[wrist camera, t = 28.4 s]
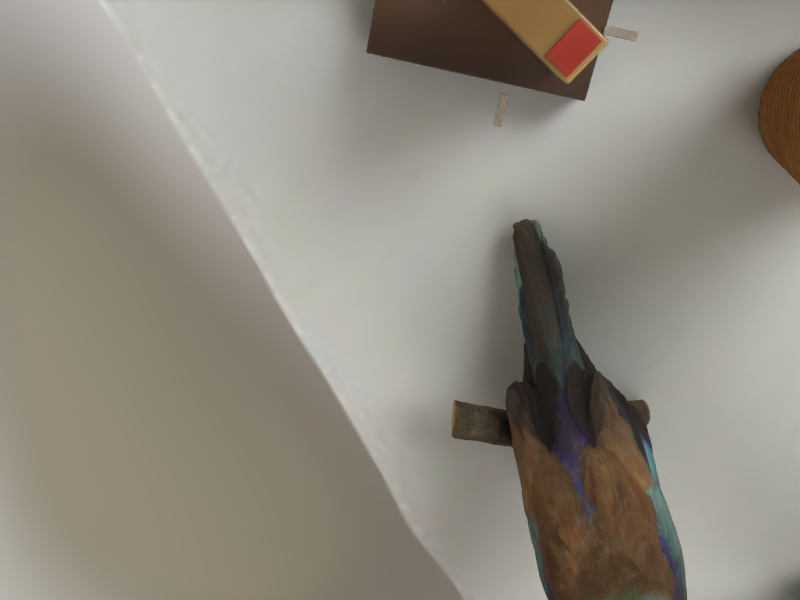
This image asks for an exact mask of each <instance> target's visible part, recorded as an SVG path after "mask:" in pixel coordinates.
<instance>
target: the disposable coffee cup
mask: <svg viewBox="0 0 800 600" xmlns="http://www.w3.org/2000/svg"><path fill="white" fill-rule="evenodd" d="M759 129H760V132H761V135H762V139H763V142H764V144H765V146H766V148H767V150H768V152H769V153H770V154H771V155H772V156H773V157H774V159H775V160H776V161H777V162H778V163H780V164H781V166H782V167H783V168H784V169H785V170H786V171H787V172H788V173H789V174H790V175H791V176H792V177H793V178H794V179H795V180H796V181H797V182H798V183H799V184H800V49H798V50H797V51H795V52H794V53H793V54H792V55H791V56H790V57H788V58H787V59H786V60H785V61H784V62H783V63H782V64H781V65H780V66H779V67H778V68H777V70H776V71H775V72H774V73H773V75H772V76H771V78H770V80H769V82H768V83H767V85H766V87H765V90H764V93H763V95H762V98H761V102H760V108H759Z"/></svg>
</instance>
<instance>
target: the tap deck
mask: <svg viewBox="0 0 800 600" xmlns="http://www.w3.org/2000/svg"><path fill="white" fill-rule="evenodd" d="M569 1H570V2H571V3H572V4H573V5H574V6H575V7H576V8H577V9H578V10H579V11H580V12H581V13H582V14H583V15H584V16H585V17H586V18H587V19H588V20H589V21H590V22H591V23H592V24H593V25H594V26H595V27H596V28H597V29H598V30H599V31H600V32H601V33H602V34H603V35H608V36H613V37H617V38H622V39H627V40H631V41H636V38H637V34H638V32H634V31H629V30H624V29H620V28H615V27H610V26H606V24H607V21H608V17H609V14H610V10H611V6H612V3H613V0H569ZM366 52H367V53H370V54H374V55H379V56H384V57H388V58H393V59H397V60H402V61H406V62H411V63H415V64H420V65H424V66H429V67H433V68H438V69H442V70H447V71H451V72H456V73H460V74H465V75H469V76H474V77H478V78H483V79H488V80H492V81H497V82H501V83H506V84H510V85H515V86H519V87H524V88H528V89H533V90H537V91H542V92H546V93H551V94H555V95H560V96H564V97H569V98H573V99H578V100H582V101H585V98H586V95H587V91H588V88H589V84H590V81H591V77H592V74H593V70H594V67H595V63H596V60H597V56H598V54H597V55H596V56H595V57H594V58H593V59H592V61H591V62H590V63H589V64H588V65H587V66H586V67H585V68H584V69H583V70H582V71H581V72H580V73H579V74H578V75H577V76H576V77H575V78H574V79H573V80H572V81H571V82H570V83H568V84H567V83H565V82H564V81H563V80H561V79H560V78H559V77H558V76H556V75H555V74H554V73H553V72H552V71H551V70H550V69H549V68H548V67H547V66H546V65H545V64H544V63H543V62H542V61H541V60H540V59H539V58H538V57H537V56H536V55H535V54H534V53H533V52H532V51H531V50H530V49H529V48H528V47H527V46H526V45H525V44H524V43H523V42H522V41H521V40H520V39H519V38H518V37H517V36H516V35H515V34H514V33H513V32H512V31H511V30H510V29H509V28H508V27H507V26H506V25H505V24H504V23H503V22H502V21H501V20H500V19H499V18H498V17H497V16H496V15H495V14H494V13H493V12H492V11H491V10H490V9H489V8H488V7H487V6H486V5H485V4H484V3H483V2H482V1H481V0H375V5H374V11H373V17H372V22H371V28H370V34H369V39H368V45H367V51H366ZM507 100H508V95H506V94H500V98H499V102H498V107H497V111H496V115H495V119H494V123H493V125H496V126H500V127H501V124H502V120H503V116H504V112H505V108H506V104H507Z"/></svg>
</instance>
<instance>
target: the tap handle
mask: <svg viewBox="0 0 800 600" xmlns="http://www.w3.org/2000/svg"><path fill="white" fill-rule="evenodd" d="M481 1H482V2H483V3H484V4H485V5H486V6H487V7H488V8H489V9H490V10H491V11H492V12H493V13H494V14H495V15H496V16H497V17H498V18H499V19H500V20H501V21H502V22H503V23H504V24H505V25H506V26H507V27H508V28H509V29H510V30H511V31H512V32H513V33H514V34H515V35H516V36H517V37H518V38H519V39H520V40H521V41H522V42H523V43H524V44H525V45H526V46H527V47H528V48H529V49H530V50H531V51H532V52H533V53H534V54H535V55H536V56H537V57H538V58H539V59H540V60H541V61H542V62H543V63H544V64H545V65H546V66H547V67H548V68H549V69H550V70H551V71H552V72H553V73H554V74H555V75H556V76H558V77H559V78H560V79H561V80H563V81H564V82H565V83H567V84H568V83H570V82H571V81H572V80H573V79H574V78H575V77H576V76H577V75H578V74H579V73H580V72H581V71H582V70H583V69H584V68H585V67H586V66H587V65H588V64H589V63H590V62H591V61H592V59H593V58H594V57H595V56H596V55H597V54H598V53H599V52H600V51H601V50H602V49H603V48H604V47H605V46H606V45H607V44H608V40H607V39H606V38H605V37H604V35H603V34H602V33H601V32H600V31H599V30H598V29H597V28H596V27H595V26H594V25H593V24H592V23H591V22H590V21H589V20H588V19H587V18H586V17H585V16H584V15H583V14H582V13H581V12H580V11H579V10H578V9H577V8H576V7H575V6H574V5H573V4H572V3H571V2H570V1H569V0H481Z"/></svg>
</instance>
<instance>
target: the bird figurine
mask: <svg viewBox="0 0 800 600" xmlns="http://www.w3.org/2000/svg"><path fill="white" fill-rule="evenodd" d="M513 228H514V233H513V240H514V247H515V252H514V261H515V283H516V288H517V298H518V310H519V314H520V318H521V321H522V326H523V333H524V336H525V344H524V374H523V380H524V382H518V381H515V382H513V383H512V384H511V385H510V386H509V387H508V389H507V393H506V410H507V411H506V410H502V409H497V408H492V407H487V406H480V405H474V404H469V403H464V402H460V401H456V400H455V401H454V404H453V417H452V437H454V438H457V439H463V440H474V441H481V442H485V443H489V444H494V445H502V446H510V447H513V450H514V454H515V458H516V462H517V466H518V471H519V476H520V481H521V486H522V497H523V504H524V509H525V513H526V516H527V520H528V525H529V530H530V535H531V540H532V543H533V547H534V549H535V555H536V560H537V565H538V570H539V575H540V579H541V582H542V585H543V588H544V591H545V593H546V596H547V598H548V600H687V590H686V580H685V566H684V559H683V554H682V549H681V545H680V542H679V539H678V535H677V532H676V529H675V526H674V523H673V521H672V518H671V515H670V512H669V509H668V506H667V503H666V500H665V498H664V496H663V494H662V491H661V489H660V484H659V479H658V475H657V470H656V466H655V461H654V458H653V451H652V445H651V441H650V437H649V434H648V430H647V426H646V425H647V424H648V423H649V421H650V411H649V407H648V405H647V403H646V402H645V401H644V400H637V401H627V400H626V398H625V397H624V395H622V394H621V393H620V392H619V391H618V390H617V389H615V387H614V386H613V385H612V383H611V382H610V381H609V380H607V379H606V378H604V377H603V376H602V375H601V373H600V372H599V371H597V370H596V369H595V367H594V365H593V364H592V362H591V361H590V359H589V357H588V356H587V354H586V353H585V351H584V350H583V348H582V347H581V345H580V344H579V342H578V340H577V339H576V337H575V335H574V330H573V327H572V323H571V319H570V315H569V303H568V301H567V299H566V297H565V287H564V282H563V273H562V268H561V266H560V262H559V260H558V258H557V257H556V254H555V252H554V251H553V250H552V249H550V248H549V247H548V246H547V241H546V239H545V237H544V236H543V233H542V230H541V227H540V224H539V222H538V221H537V220H528V219H525V220H522V221H520V222H517V223H514V224H513Z"/></svg>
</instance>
